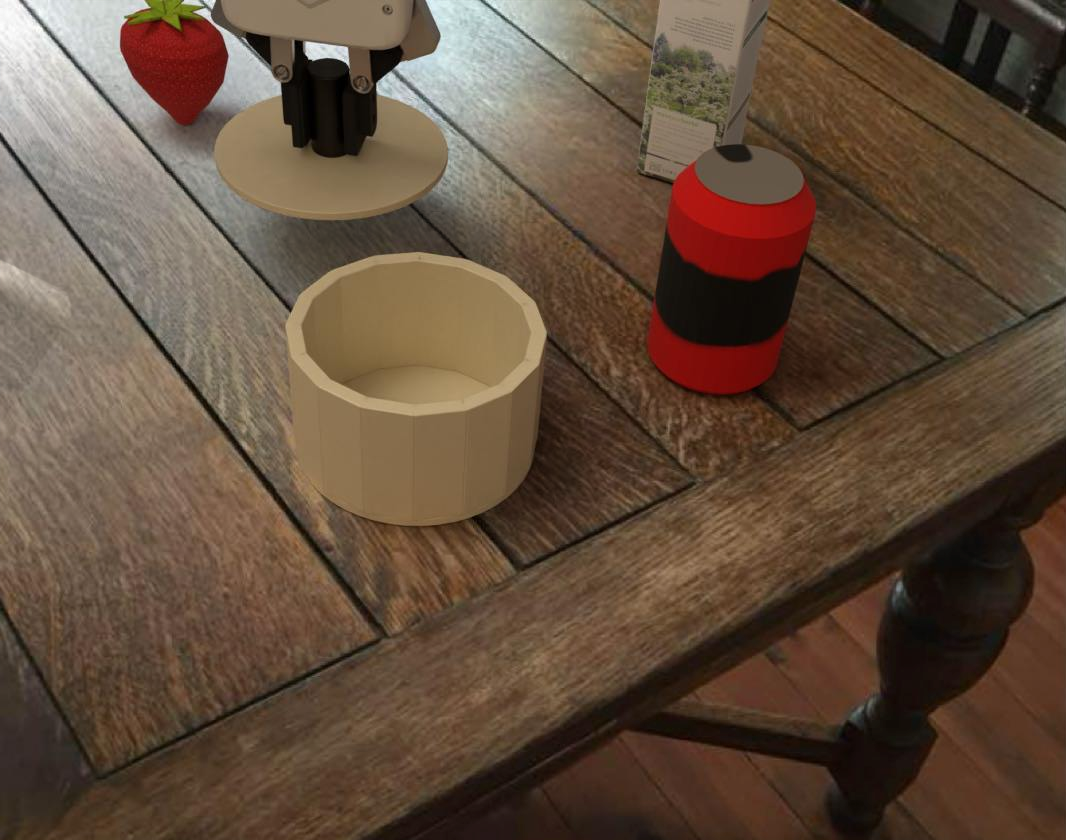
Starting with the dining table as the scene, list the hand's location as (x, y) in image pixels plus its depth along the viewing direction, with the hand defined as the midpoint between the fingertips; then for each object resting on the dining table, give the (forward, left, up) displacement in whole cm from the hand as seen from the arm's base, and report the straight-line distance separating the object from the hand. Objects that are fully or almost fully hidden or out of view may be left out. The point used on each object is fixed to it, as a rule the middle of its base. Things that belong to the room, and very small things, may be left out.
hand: (331, 137), depth 79 cm
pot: (+9, -17, -7) cm, 20 cm away
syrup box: (+21, +14, -7) cm, 26 cm away
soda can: (+24, -6, -7) cm, 26 cm away
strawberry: (-13, +10, -7) cm, 18 cm away
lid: (0, 0, -1) cm, 1 cm away
